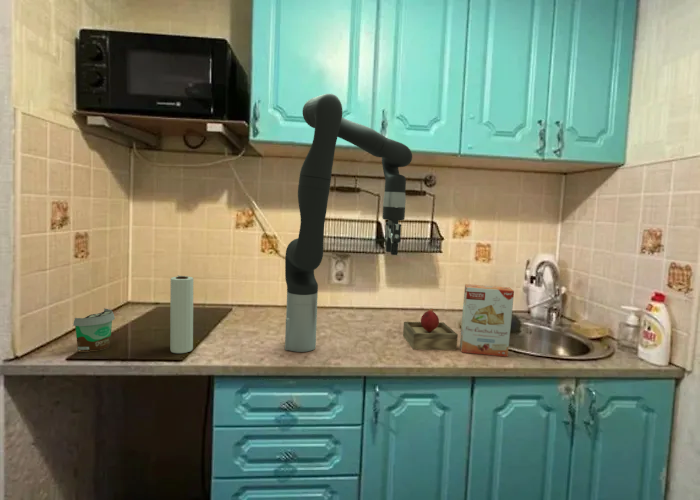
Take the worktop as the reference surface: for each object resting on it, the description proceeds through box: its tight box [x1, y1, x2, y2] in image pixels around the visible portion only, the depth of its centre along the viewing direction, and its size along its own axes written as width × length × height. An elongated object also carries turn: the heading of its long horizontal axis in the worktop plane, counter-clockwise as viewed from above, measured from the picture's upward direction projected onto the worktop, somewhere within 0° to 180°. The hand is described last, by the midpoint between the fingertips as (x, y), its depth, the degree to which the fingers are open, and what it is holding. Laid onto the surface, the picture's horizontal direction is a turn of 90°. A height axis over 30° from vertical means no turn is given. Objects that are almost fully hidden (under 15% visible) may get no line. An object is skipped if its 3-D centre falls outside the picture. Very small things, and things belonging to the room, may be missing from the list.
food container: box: [72, 308, 116, 351], centre depth 123 cm, size 12×6×10 cm, turn 171°
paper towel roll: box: [169, 275, 194, 354], centre depth 124 cm, size 7×6×21 cm
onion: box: [420, 307, 440, 332], centre depth 142 cm, size 6×6×8 cm
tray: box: [402, 321, 458, 351], centre depth 142 cm, size 14×14×5 cm
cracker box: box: [459, 283, 515, 357], centre depth 134 cm, size 14×6×21 cm, turn 82°
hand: (391, 253), depth 148 cm, fingers open, 8 cm apart
